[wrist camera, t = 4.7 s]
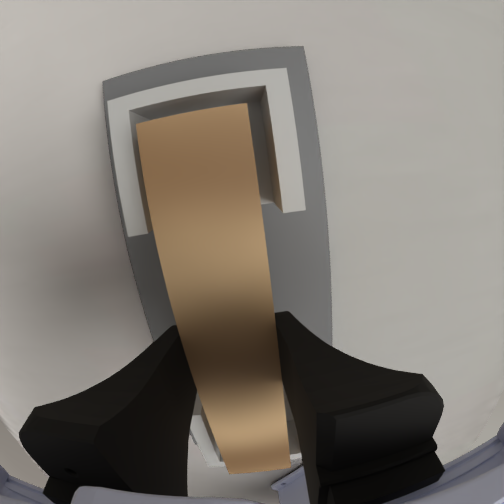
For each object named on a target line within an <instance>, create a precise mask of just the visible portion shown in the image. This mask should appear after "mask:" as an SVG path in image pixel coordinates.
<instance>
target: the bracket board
mask: <svg viewBox="0 0 504 504" xmlns="http://www.w3.org/2000/svg"><path fill="white" fill-rule="evenodd" d="M103 94H104V107H105V118H106V128H107V137H108V145H109V152H110V159H111V166H112V173H113V179H114V185H115V191H116V196H117V202H118V207H119V212H120V217H121V222H122V227H123V231H124V236H125V240H126V244H127V249H128V253H129V257H130V261H131V265H132V269H133V273H134V277H135V280H136V284H137V288H138V291H139V295H140V298H141V302H142V305H143V308H144V312H145V315H146V318H147V321H148V325H149V328H150V331H151V334H152V337H153V340H154V341H156V340H157V339H158V338H159V337H160V336H161V335H162V334H163V333H164V332H165V331H166V330H167V329H168V328H170V327H171V326H172V325H176V321H175V317H174V314H173V310H172V306H171V303H170V299H169V295H168V291H167V287H166V283H165V279H164V275H163V271H162V267H161V263H160V258H159V254H158V250H157V245H156V240H155V236H154V231H153V226H152V221H151V216H150V211H149V206H148V200H147V195H146V189H145V184H144V178H143V172H142V165H141V159H140V152H139V145H138V137H137V130H136V124H138V123H142V122H146V121H150V120H154V119H158V118H163V117H167V116H172V115H176V114H181V113H186V112H192V111H197V110H203V109H208V108H214V107H221V106H228V105H235V104H242V103H247V107H248V114H249V121H250V128H251V135H252V142H253V149H254V157H255V164H256V171H257V179H258V186H259V194H260V201H261V209H262V217H263V224H264V232H265V240H266V248H267V256H268V264H269V272H270V280H271V288H272V297H273V305H274V313H276V312H283V311H289V312H290V313H292V314H293V316H294V317H295V318H296V319H297V320H299V321H300V322H301V323H302V324H303V325H304V326H305V327H306V328H307V329H309V330H310V331H311V332H312V333H313V334H315V335H316V336H317V337H319V338H320V339H321V340H323V341H324V342H326V343H327V344H329V345H330V346H332V296H331V270H330V251H329V236H328V222H327V210H326V198H325V188H324V178H323V169H322V160H321V152H320V144H319V136H318V129H317V122H316V115H315V108H314V102H313V96H312V90H311V84H310V78H309V72H308V67H307V62H306V56H305V51H304V46H292V47H272V48H259V49H248V50H239V51H231V52H223V53H217V54H210V55H204V56H198V57H193V58H188V59H183V60H178V61H174V62H169V63H165V64H161V65H156V66H153V67H149V68H145V69H141V70H138V71H134V72H131V73H127V74H124V75H121V76H118V77H114V78H111V79H108V80H105V81H103ZM282 384H283V383H282ZM283 394H284V403H285V413H286V422H287V432H288V442H289V452H290V460H292V459H298V458H302V456H301V450H300V445H299V440H298V434H297V429H296V425H295V422H294V418H293V415H292V412H291V409H290V405H289V402H288V399H287V396H286V393H285V389H284V386H283ZM190 434H191V436H192V439H193V441H194V443H195V444H198V446H199V449H200V451H201V453H202V455H203V457H204V459H205V461H206V463H207V465H208V467H226V465H225V463H224V460H223V458H222V456H221V453H220V451H219V448H218V446H217V443H216V441H215V438H214V435H213V433H212V430H211V428H210V425H209V422H208V420H207V417H206V414H205V411H204V409H203V406H202V403H201V400H200V397H199V395H198V392H197V395H196V400H195V405H194V410H193V416H192V421H191V426H190Z"/></svg>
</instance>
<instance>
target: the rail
mask: <svg viewBox="0 0 504 504" xmlns="http://www.w3.org/2000/svg"><path fill="white" fill-rule="evenodd" d="M136 130H137V137H138V145H139V152H140V159H141V165H142V172H143V178H144V184H145V189H146V195H147V200H148V206H149V211H150V216H151V221H152V226H153V231H154V236H155V240H156V245H157V250H158V254H159V258H160V263H161V267H162V271H163V275H164V279H165V283H166V287H167V291H168V295H169V299H170V303H171V306H172V310H173V314H174V317H175V321H176V325H177V328H178V332H179V335H180V338H181V341H182V345H183V348H184V351H185V355H186V358H187V361H188V364H189V367H190V370H191V373H192V376H193V379H194V382H195V385H196V388H197V392H198V395H199V397H200V400H201V403H202V406H203V409H204V411H205V414H206V417H207V420H208V422H209V425H210V428H211V430H212V433H213V435H214V438H215V441H216V443H217V446H218V448H219V451H220V453H221V456H222V458H223V460H224V463H225V465H226V468H227V470H228V472H229V474H239V473H251V472H261V471H270V470H278V469H285V468H291V462H290V452H289V442H288V432H287V422H286V413H285V403H284V394H283V384H282V376H281V367H280V358H279V349H278V340H277V331H276V323H275V314H274V305H273V297H272V288H271V280H270V272H269V264H268V256H267V248H266V240H265V232H264V224H263V217H262V209H261V201H260V194H259V186H258V179H257V171H256V164H255V157H254V149H253V142H252V135H251V128H250V121H249V114H248V107H247V103H242V104H235V105H228V106H221V107H214V108H208V109H203V110H197V111H192V112H186V113H181V114H176V115H172V116H167V117H163V118H158V119H154V120H150V121H146V122H142V123H138V124H136Z"/></svg>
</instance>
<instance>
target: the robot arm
mask: <svg viewBox="0 0 504 504" xmlns="http://www.w3.org/2000/svg"><path fill="white" fill-rule="evenodd" d="M274 314H275V323H276V331H277V340H278V349H279V358H280V367H281V376H282V383H283V386H284V389H285V393H286V396H287V399H288V402H289V405H290V409H291V412H292V415H293V418H294V422H295V425H296V429H297V434H298V440H299V445H300V450H301V456H302V461H303V466H302V467H300V468H299V469H297V470H295V471H294V472H292V473H291V474H289V475H287V476H286V477H284V478H282V479H281V480H279V481H277V482H275V483H274V484H272V485H271V488H272V489H273V490H277V491H278V494H279V502H280V504H504V423H503V424H502V426H501V427H500V429H499V431H498V433H497V435H496V436H495V437H493V438H492V439H490V440H488V441H487V442H485V443H483V444H482V445H480V446H478V447H477V448H475V449H473V450H471V451H470V452H468V453H466V454H464V455H462V456H461V457H459V458H457V459H455V460H453V461H451V462H449V463H447V464H445V465H442V463H441V462H440V460H439V458H438V456H437V455H436V453H435V451H436V450H437V444H436V442H435V441H434V439H433V434H434V432H435V430H436V428H437V425H438V423H439V420H440V418H441V415H442V412H443V408H444V404H443V399H442V398H441V396H440V395H439V394H438V392H437V391H436V389H435V388H434V387H433V385H432V384H431V383H430V382H429V381H428V380H427V379H426V377H425V376H424V375H423V374H417V373H410V372H403V371H396V370H392V369H388V368H384V367H380V366H376V365H373V364H370V363H367V362H364V361H361V360H359V359H356V358H354V357H352V356H349V355H347V354H345V353H343V352H341V351H339V350H337V349H336V348H334V347H332V346H330V345H329V344H327V343H326V342H324V341H323V340H321V339H320V338H319V337H317V336H316V335H315V334H313V333H312V332H311V331H310V330H309V329H307V328H306V327H305V326H304V325H303V324H302V323H301V322H300V321H299V320H297V319H296V318H295V317H294V316H293V314H292V313H290V312H289V311H283V312H276V313H274ZM196 395H197V388H196V385H195V382H194V379H193V376H192V373H191V370H190V367H189V364H188V361H187V358H186V355H185V351H184V348H183V345H182V341H181V338H180V335H179V332H178V328H177V325H172V326H171V327H170V328H168V329H167V330H166V331H165V332H164V333H163V334H162V335H161V336H160V337H159V338H158V339H157V340H156V341H154V342H153V343H152V344H151V345H150V346H149V347H148V348H147V349H146V350H145V351H144V352H142V353H141V354H140V355H139V356H138V357H136V358H135V359H134V360H133V361H132V362H130V363H129V364H128V365H127V366H125V367H124V368H122V369H121V370H120V371H118V372H117V373H115V374H114V375H112V376H111V377H109V378H107V379H106V380H104V381H102V382H100V383H98V384H97V385H95V386H93V387H91V388H89V389H87V390H85V391H83V392H80V393H78V394H76V395H73V396H71V397H68V398H66V399H63V400H60V401H56V402H53V403H49V404H46V405H42V406H38V407H35V408H34V409H33V411H32V412H31V414H30V415H29V417H28V419H27V420H26V422H25V423H24V425H23V427H22V428H21V430H20V432H19V438H20V441H21V443H22V445H23V447H24V448H25V450H26V451H27V452H28V454H29V455H30V456H31V457H32V458H33V459H34V460H35V462H36V463H37V464H38V465H39V466H40V467H41V468H42V469H43V470H44V471H45V472H46V473H47V474H48V475H49V476H50V477H49V479H48V481H47V484H46V486H45V488H44V489H42V488H40V487H37V486H34V485H32V484H29V483H27V482H24V481H22V480H20V479H17V478H15V477H13V476H10V475H9V474H8V473H7V472H6V470H5V469H4V468H3V467H2V466H1V465H0V504H264V503H259V502H255V501H250V500H246V499H241V498H221V497H188V494H187V459H188V439H189V432H190V426H191V421H192V416H193V410H194V405H195V400H196Z"/></svg>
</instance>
